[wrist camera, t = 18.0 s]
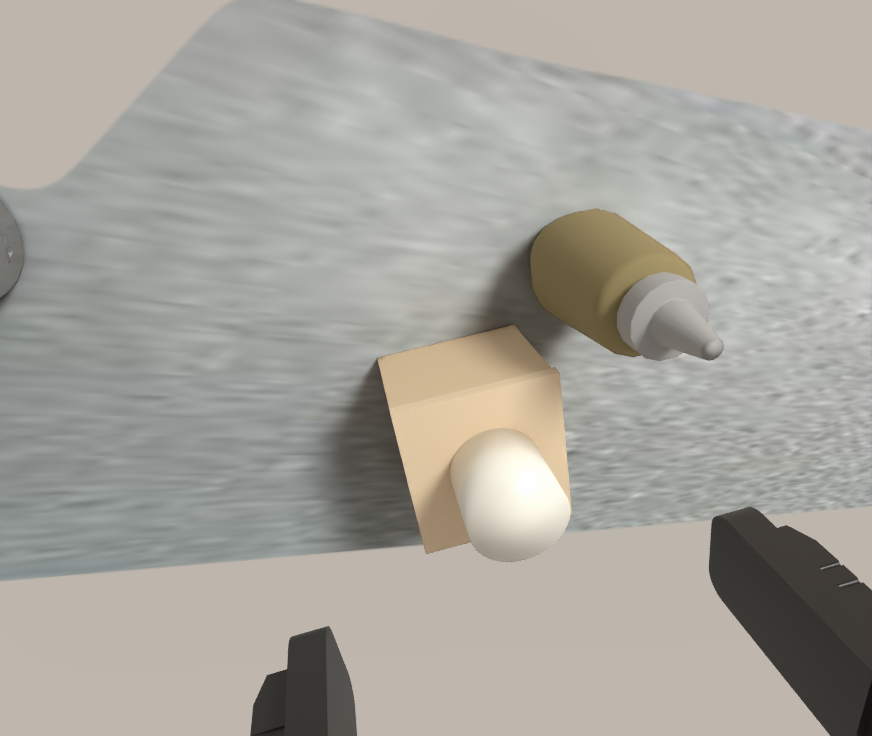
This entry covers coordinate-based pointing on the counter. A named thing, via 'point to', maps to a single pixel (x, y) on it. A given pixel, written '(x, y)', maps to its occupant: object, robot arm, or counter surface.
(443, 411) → the lid
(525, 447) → the rounded white cylinder
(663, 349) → the squeeze bottle
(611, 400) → the counter surface
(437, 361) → the cardboard box
